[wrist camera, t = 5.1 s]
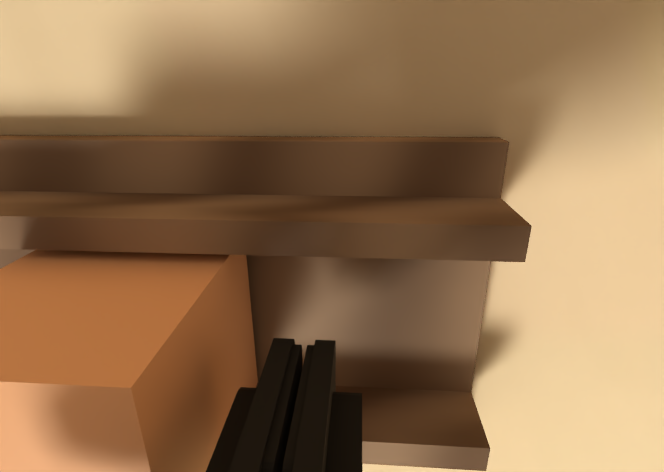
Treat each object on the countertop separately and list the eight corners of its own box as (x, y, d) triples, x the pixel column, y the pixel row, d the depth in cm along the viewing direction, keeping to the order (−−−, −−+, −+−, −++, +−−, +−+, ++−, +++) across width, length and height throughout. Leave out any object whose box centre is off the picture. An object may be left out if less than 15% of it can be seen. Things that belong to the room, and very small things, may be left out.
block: (244, 235, 13) (130, 387, 7) (257, 381, 16) (181, 601, 9) (70, 231, 14) (-194, 371, 7) (107, 374, 16) (-69, 580, 9)
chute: (498, 137, 13) (544, 158, 10) (457, 425, 17) (479, 506, 14) (-216, 134, 15) (-381, 151, 11) (-87, 396, 19) (-180, 462, 16)
